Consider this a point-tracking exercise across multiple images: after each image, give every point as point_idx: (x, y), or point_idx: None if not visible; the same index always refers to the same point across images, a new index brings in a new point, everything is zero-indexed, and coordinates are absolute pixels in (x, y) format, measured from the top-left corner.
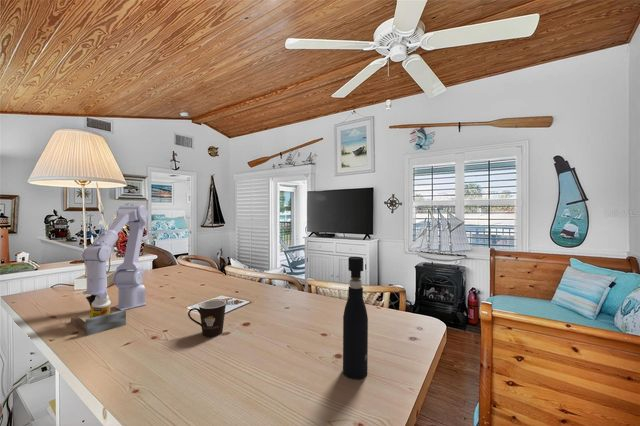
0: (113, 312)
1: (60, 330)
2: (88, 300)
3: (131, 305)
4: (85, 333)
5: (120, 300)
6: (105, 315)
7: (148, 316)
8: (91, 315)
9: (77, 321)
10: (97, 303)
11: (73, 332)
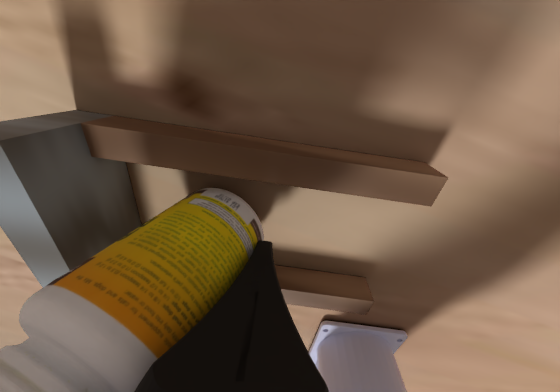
0: None
1: (328, 51)
2: (256, 359)
3: (318, 353)
4: (113, 116)
5: (361, 374)
6: (34, 252)
7: None
8: (167, 220)
9: (286, 155)
10: (24, 342)
11: (205, 87)
